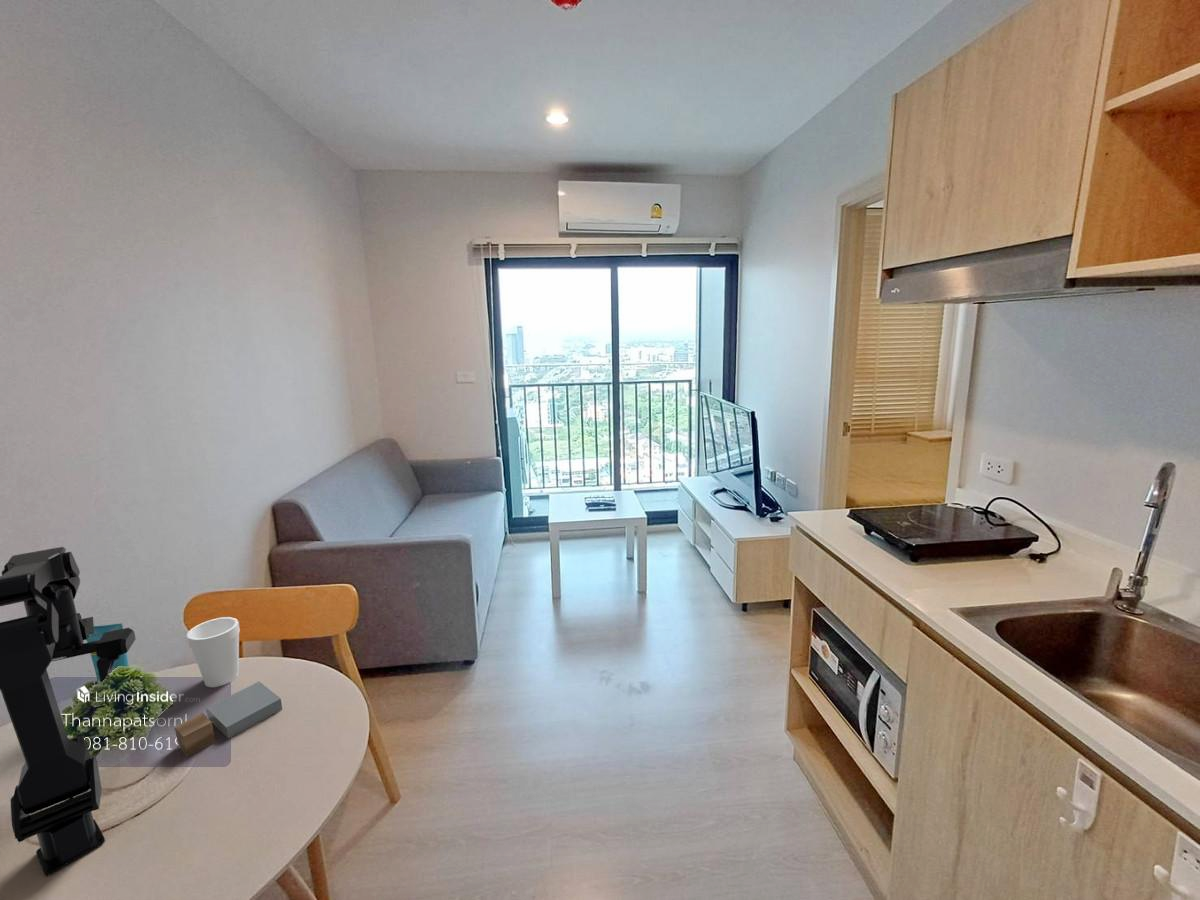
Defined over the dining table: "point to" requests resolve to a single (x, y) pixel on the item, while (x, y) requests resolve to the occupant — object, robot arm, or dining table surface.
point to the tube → (96, 636)
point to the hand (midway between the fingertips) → (72, 696)
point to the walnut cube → (194, 734)
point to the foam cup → (216, 650)
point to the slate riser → (243, 709)
